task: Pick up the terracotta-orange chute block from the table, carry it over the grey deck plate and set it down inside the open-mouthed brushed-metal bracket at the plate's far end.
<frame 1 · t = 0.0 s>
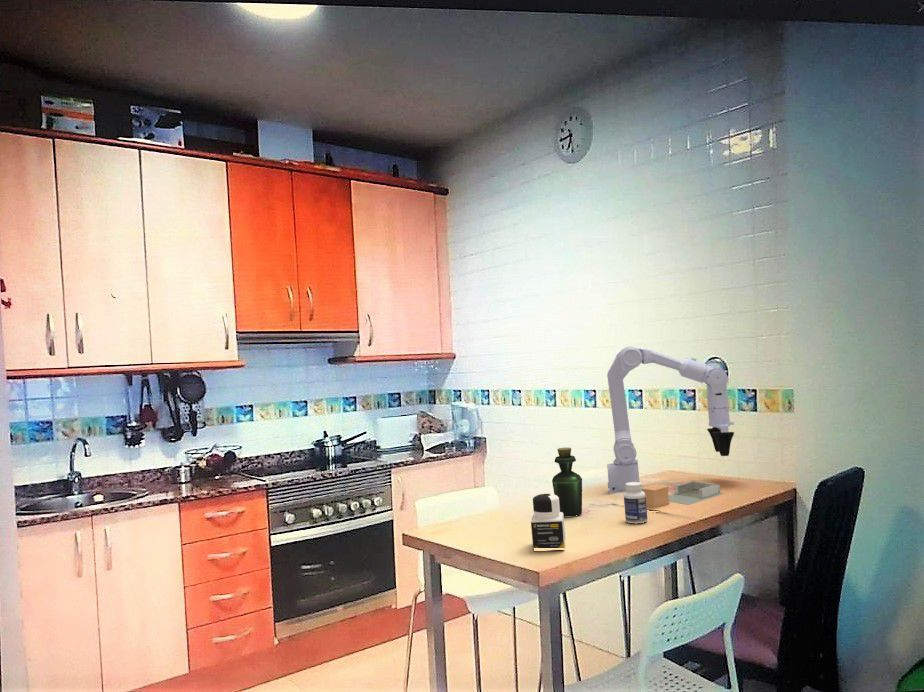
hand: (722, 453, 199), 10 cm above the table, tool pointing down, fingers open, 7 cm apart
pill bottle: (636, 522, 170), on the table
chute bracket: (696, 494, 189), resting on deck plate
medicine bottle: (549, 547, 155), on the table
deck plate: (690, 500, 187), on the table
chute block: (656, 509, 181), on the table
potion bottle: (570, 515, 183), on the table
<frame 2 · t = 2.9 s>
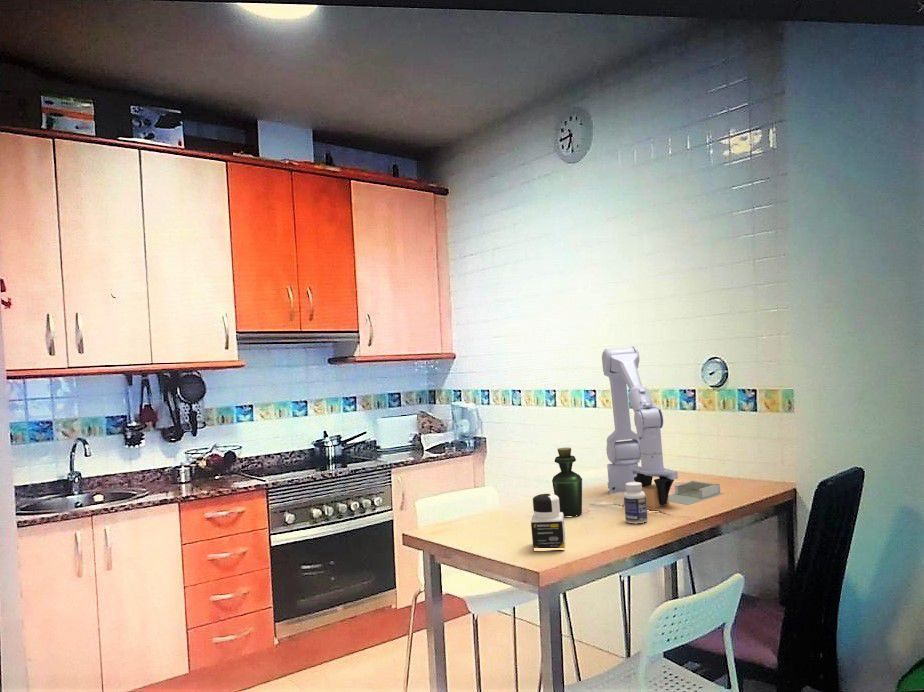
hand: (655, 503, 181), 2 cm above the table, tool pointing down, fingers closed on chute block, 5 cm apart
chute block: (656, 509, 181), on the table, touching gripper
everything else where it was.
when the fingers open (4 cm above the table, at t = 6.7 s): chute block drops 1 cm, resting on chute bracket.
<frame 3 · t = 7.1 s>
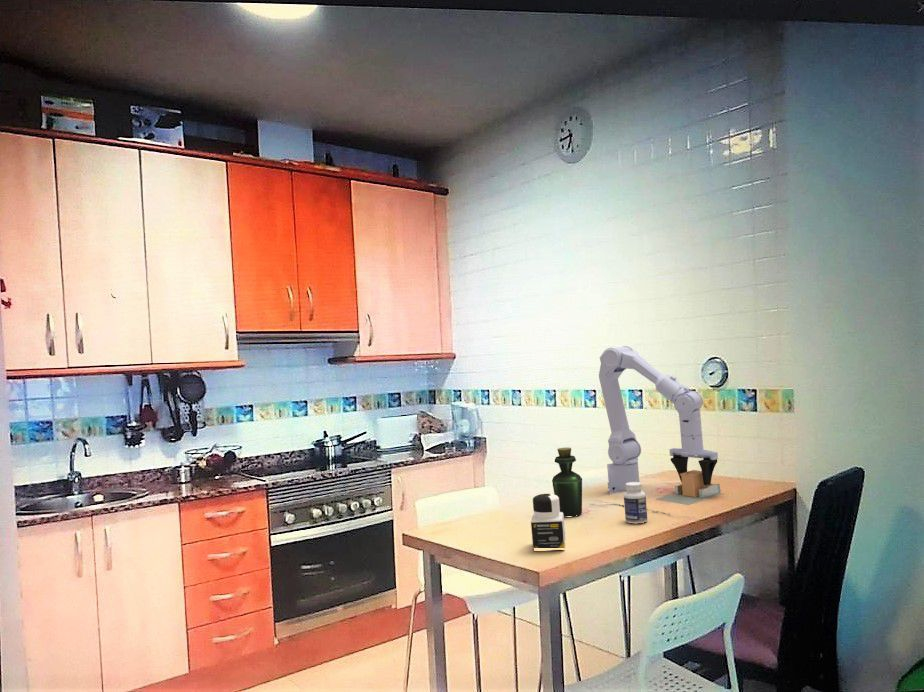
hand: (695, 483, 189), 4 cm above the table, tool pointing down, fingers open, 7 cm apart
chute block: (695, 494, 188), point 1 cm above the table, touching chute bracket
everything else where it was.
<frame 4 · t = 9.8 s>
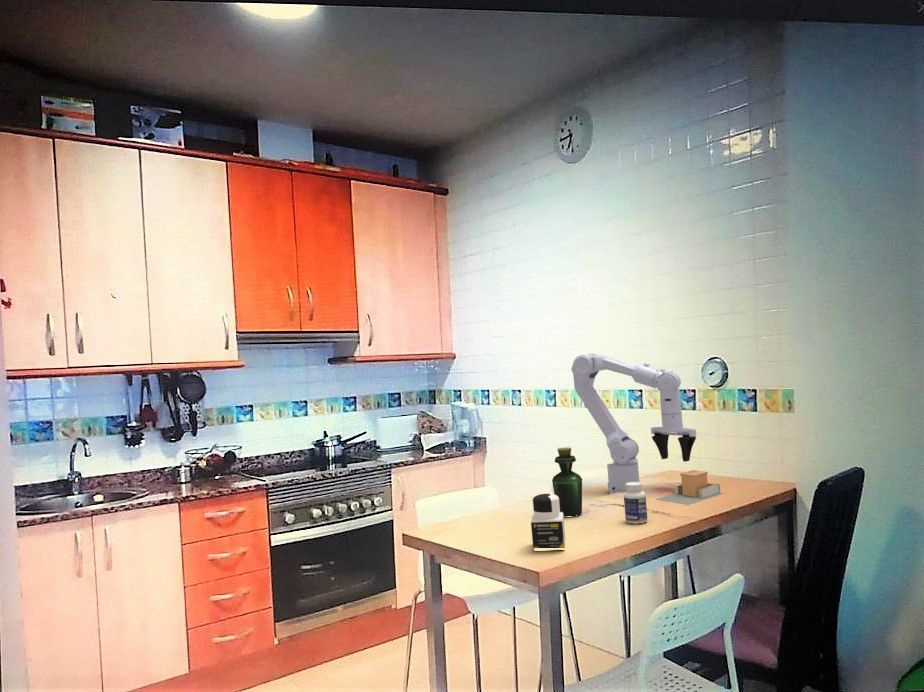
hand: (675, 459, 196), 10 cm above the table, tool pointing down, fingers open, 7 cm apart
nothing on the table moved.
at the end: chute block 0.6 cm from the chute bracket (horizontally); chute block tilted 0°; the gripper is holding nothing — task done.
